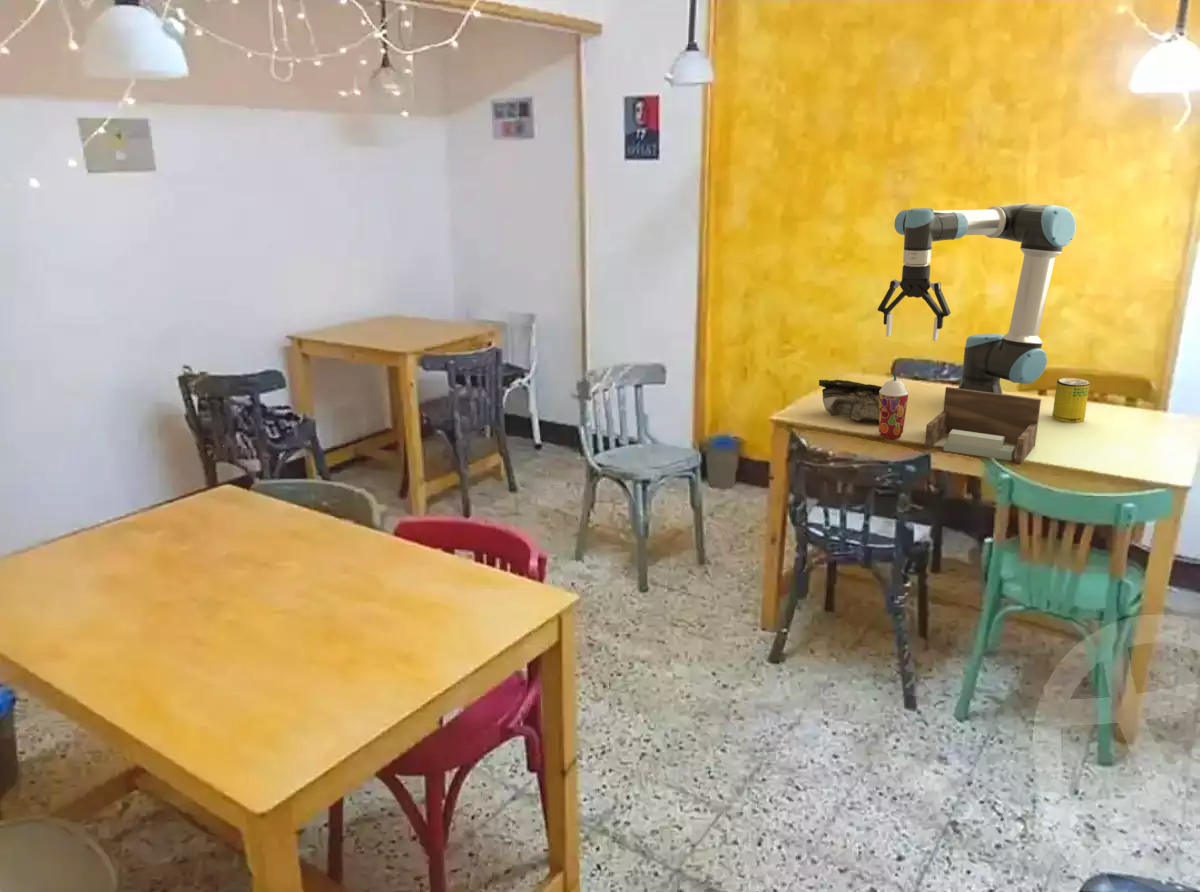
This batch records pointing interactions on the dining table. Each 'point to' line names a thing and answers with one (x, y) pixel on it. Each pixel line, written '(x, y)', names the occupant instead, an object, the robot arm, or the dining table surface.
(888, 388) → the smoothie
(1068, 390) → the beverage can
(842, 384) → the hollow geode rock
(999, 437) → the offcut stack
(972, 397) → the walnut rack
